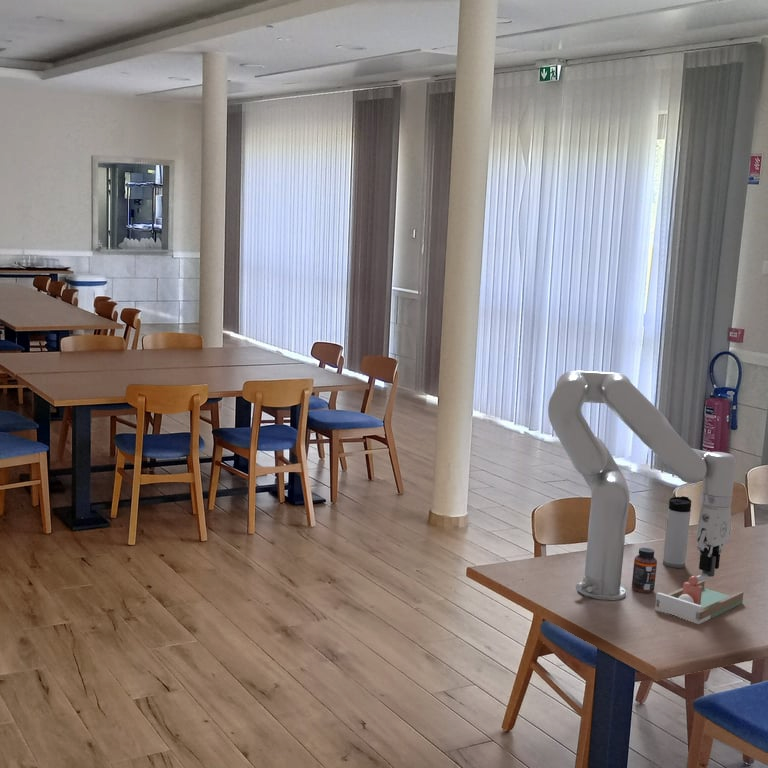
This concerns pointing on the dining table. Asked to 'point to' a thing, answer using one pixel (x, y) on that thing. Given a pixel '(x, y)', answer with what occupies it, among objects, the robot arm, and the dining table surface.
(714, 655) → the dining table surface
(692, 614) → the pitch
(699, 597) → the kicker rod
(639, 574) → the supplement bottle
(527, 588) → the dining table surface
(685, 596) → the ball
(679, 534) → the travel mug
